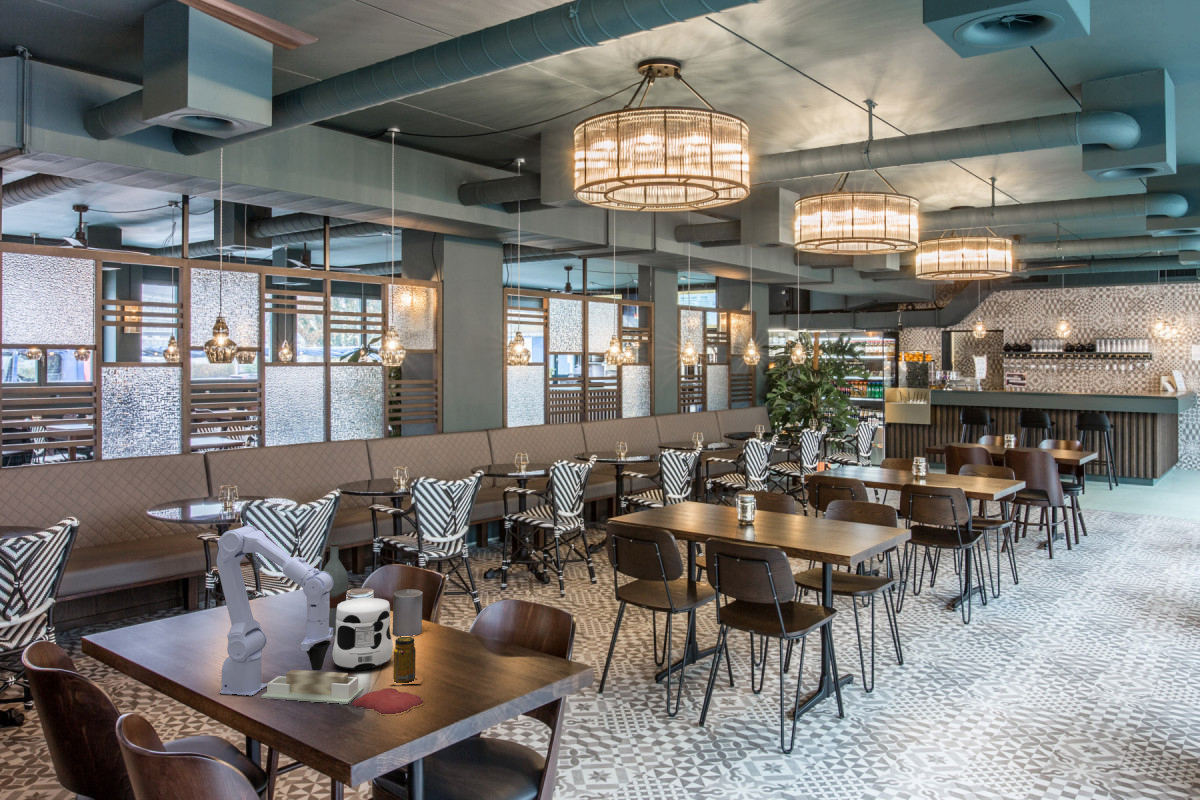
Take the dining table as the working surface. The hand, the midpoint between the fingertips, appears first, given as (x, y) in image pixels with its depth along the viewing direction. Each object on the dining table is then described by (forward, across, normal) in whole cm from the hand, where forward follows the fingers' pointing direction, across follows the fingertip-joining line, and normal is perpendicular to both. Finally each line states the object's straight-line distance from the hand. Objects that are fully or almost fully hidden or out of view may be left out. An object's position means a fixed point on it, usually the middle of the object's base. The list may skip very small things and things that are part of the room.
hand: (316, 669), depth 214 cm
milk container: (+7, +25, -2) cm, 26 cm away
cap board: (+7, 0, +1) cm, 7 cm away
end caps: (+7, 0, +1) cm, 7 cm away
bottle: (+7, +54, +21) cm, 58 cm away
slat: (+6, 0, 0) cm, 6 cm away
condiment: (+7, +14, -20) cm, 26 cm away
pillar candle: (+7, +57, -4) cm, 58 cm away
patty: (+8, -2, -21) cm, 22 cm away
